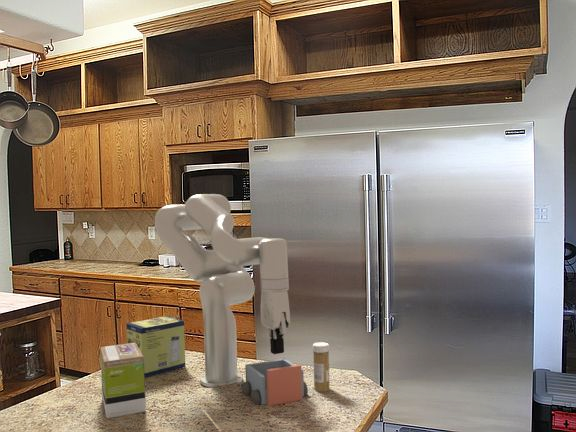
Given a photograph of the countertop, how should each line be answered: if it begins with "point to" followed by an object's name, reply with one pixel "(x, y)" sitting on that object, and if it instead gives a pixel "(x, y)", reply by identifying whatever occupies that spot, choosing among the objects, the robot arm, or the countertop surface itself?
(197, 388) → the countertop surface
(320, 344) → the sprinkles bottle
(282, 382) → the panel
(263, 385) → the box
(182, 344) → the protein box
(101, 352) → the tea box
